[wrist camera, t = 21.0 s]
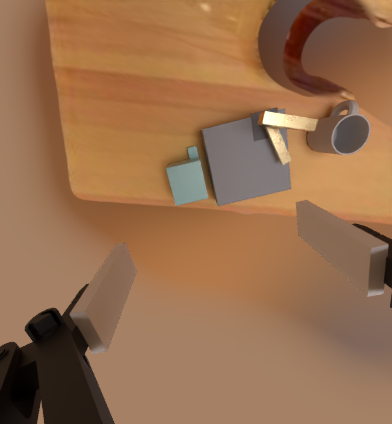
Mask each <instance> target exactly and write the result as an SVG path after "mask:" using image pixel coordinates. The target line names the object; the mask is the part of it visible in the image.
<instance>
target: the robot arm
mask: <svg viewBox="0 0 392 424" xmlns="http://www.w3.org/2000/svg"><path fill="white" fill-rule="evenodd" d="M296 210H297V225H298V235H299V236H300V237H301V238H302V239H303V240H304V241H305V242H306V243H308V244H309V245H310V246H311V247H312V248H313V249H314V250H315V251H317V252H318V253H319V254H320V255H321V256H322V257H323V258H325V260H327V261H328V262H329V263H330V264H331V265H332V266H334V268H336V269H337V270H338V271H339V272H340V273H341V274H343V276H345V277H346V278H347V279H348V280H349V281H350V282H351V283H352V284H353V285H355V286H356V287H357V288H358V289H359V290H360V291H361V292H362V293H364V294H365V295H366V296H367V297H369V296H374V295H379V294H383V292H384V284H387V285H388V286H389V287H391V288H392V239H390V238H387V237H386V236H384V235H381V234H380V233H378V232H376V231H374V230H372V229H370V228H368V227H366V226H363V225H359V224H349V223H348V222H346V221H344V220H342V219H341V218H339V217H337V216H335V215H333V214H331V213H329V212H328V211H326V210H324V209H322V208H320V207H318V206H316V205H315V204H313V203H311V202H309V201H307V200H304V201H300V202H296ZM136 273H137V270H136V267H135V265H134V263H133V260H132V258H131V255H130V253H129V250H128V248H127V245H126V243H125V242H123V243H119V244H116V245H115V246H114V247H113V249H112V250H111V252H110V254H109V255H108V257H107V258H106V260H105V261H104V263H103V264H102V266H101V267H100V269H99V270H98V272H97V273H96V275H95V276H94V278H93V279H92V281H91V282H90V284H86V285H85V286H84V287H83V288H82V289H81V290H80V291H79V292H78V294H77V295H76V297H75V299H73V301H72V302H71V304H70V305H69V307H68V308H67V309H66V311H65V312H64V314H63V315H62V316H61V315H60V313H59V311H58V310H57V309H56V308H50V309H47V310H45V311H43V312H41V313H39V314H38V315H36V316H35V317H33V318H32V319H31V320H30V321H29V322H28V324H27V325H26V326H25V331H26V333H27V334H28V336H29V337H30V338H31V340H32V341H33V342H32V343H30V344H27V345H25V346H23V347H21V348H19V346H18V345H17V344H16V343H15V342H9V343H6V344H4V345H2V346H1V347H0V424H37V420H38V414H39V408H40V403H41V401H42V408H43V417H44V424H115V423H114V421H113V418H112V416H111V414H110V411H109V409H108V407H107V404H106V402H105V399H104V397H103V395H102V392H101V390H100V388H99V385H98V383H97V380H96V378H95V376H94V373H93V371H92V369H91V366H90V364H89V361H88V359H87V357H86V356H85V352H86V350H87V348H88V347H89V348H90V350H91V352H92V353H93V354H97V353H101V352H106V351H108V348H109V345H110V343H111V340H112V337H113V334H114V332H115V329H116V327H117V324H118V321H119V319H120V316H121V313H122V310H123V308H124V305H125V302H126V300H127V297H128V294H129V292H130V289H131V286H132V284H133V281H134V278H135V275H136ZM390 307H391V308H392V295H391V303H390Z"/></svg>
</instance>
